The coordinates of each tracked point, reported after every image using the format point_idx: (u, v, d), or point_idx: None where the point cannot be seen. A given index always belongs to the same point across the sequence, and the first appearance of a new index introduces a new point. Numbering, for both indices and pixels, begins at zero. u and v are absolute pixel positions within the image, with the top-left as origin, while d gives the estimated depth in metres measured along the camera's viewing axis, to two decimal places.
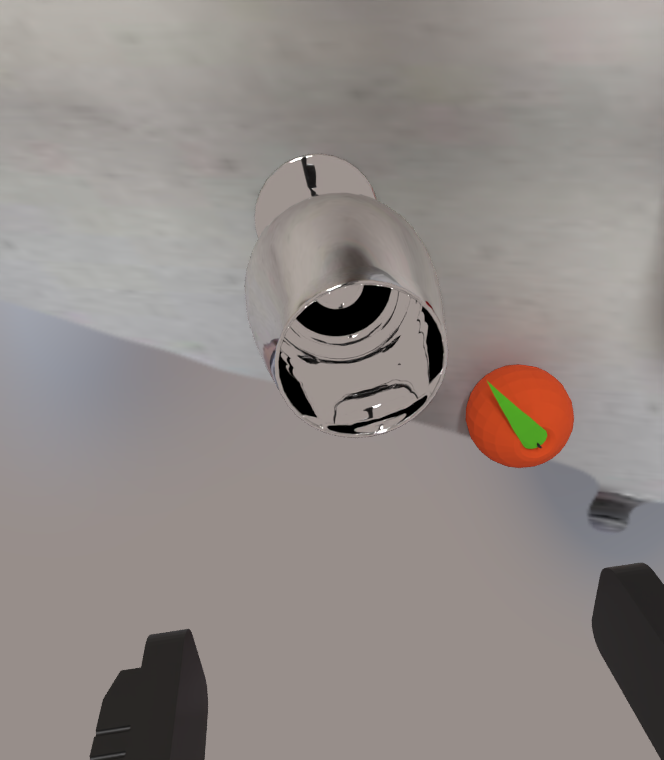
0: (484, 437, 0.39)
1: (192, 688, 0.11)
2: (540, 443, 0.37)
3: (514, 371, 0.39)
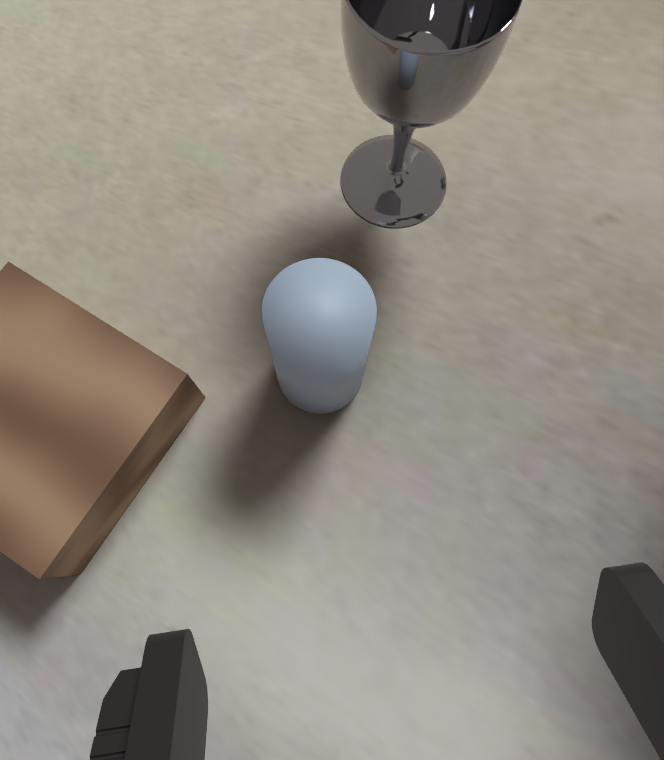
0: None
1: (191, 688, 0.11)
2: None
3: None
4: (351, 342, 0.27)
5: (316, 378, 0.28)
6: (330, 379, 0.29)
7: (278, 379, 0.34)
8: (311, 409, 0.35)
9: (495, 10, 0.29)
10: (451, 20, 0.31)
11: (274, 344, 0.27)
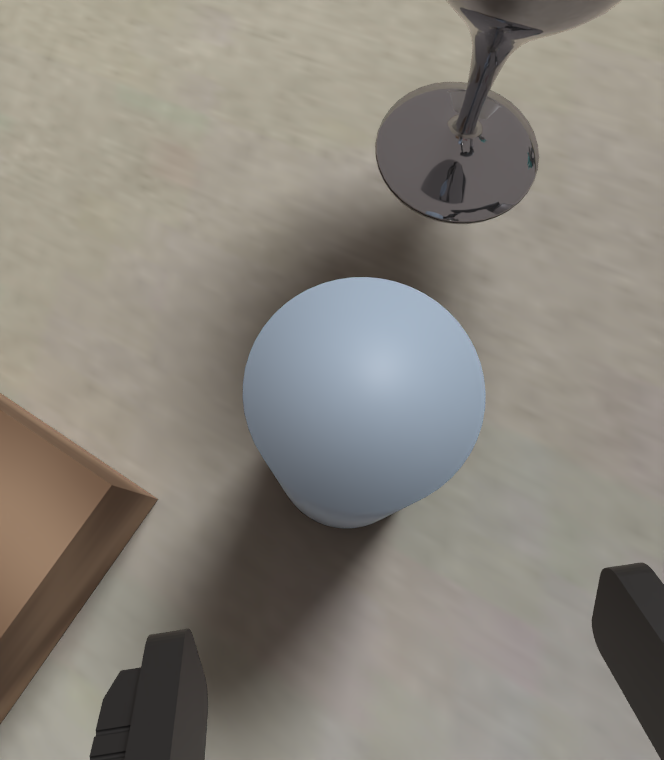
0: None
1: (192, 688, 0.11)
2: None
3: None
4: (434, 459, 0.12)
5: (353, 517, 0.14)
6: (380, 515, 0.15)
7: None
8: (333, 526, 0.21)
9: None
10: None
11: (269, 463, 0.12)
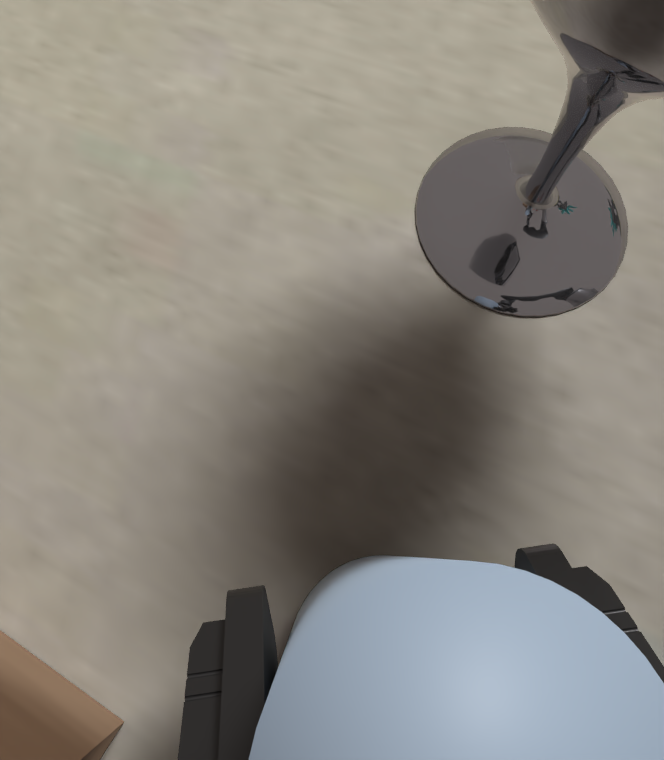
0: None
1: (269, 639, 0.11)
2: None
3: None
4: None
5: None
6: None
7: None
8: None
9: None
10: None
11: None
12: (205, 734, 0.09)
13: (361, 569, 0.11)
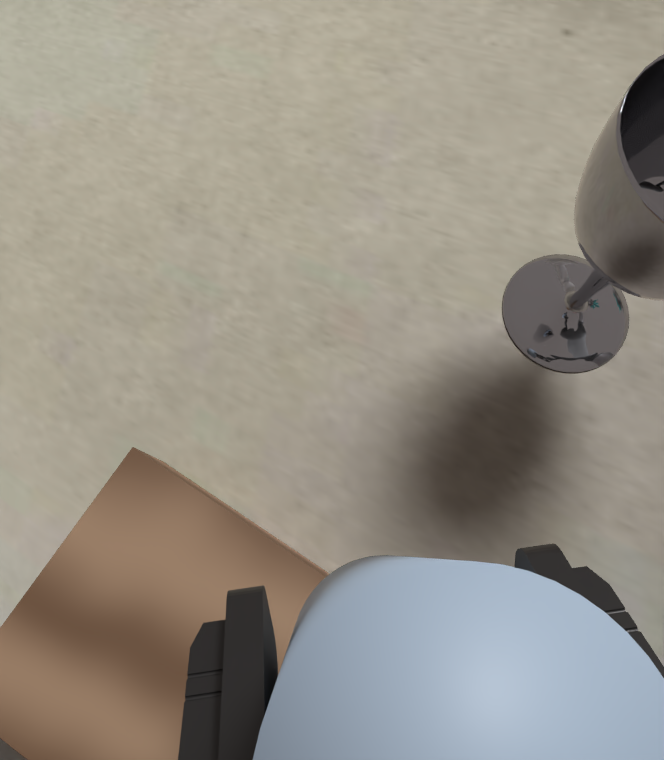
0: None
1: (269, 638, 0.11)
2: None
3: None
4: None
5: None
6: None
7: None
8: None
9: None
10: None
11: None
12: (205, 733, 0.09)
13: (363, 569, 0.11)
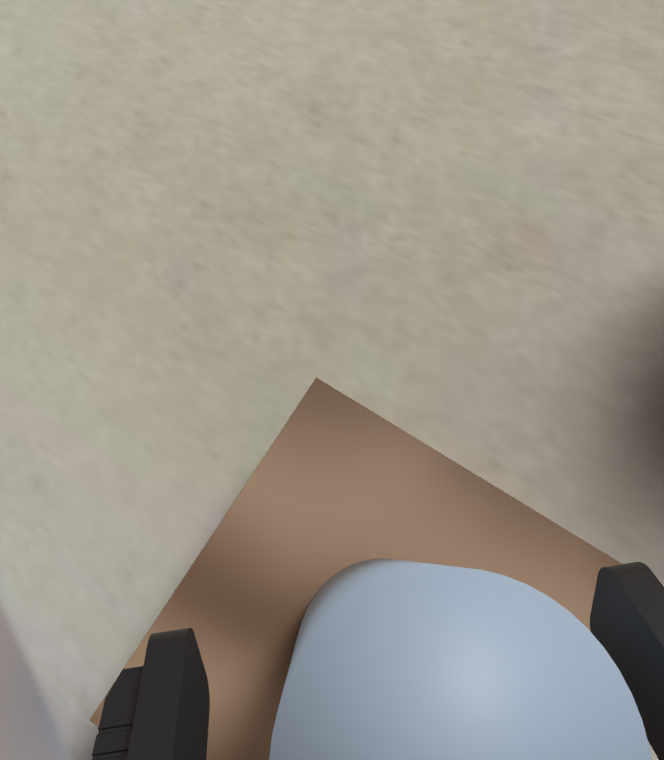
0: None
1: (193, 686, 0.11)
2: None
3: None
4: None
5: None
6: None
7: None
8: None
9: None
10: None
11: None
12: None
13: (364, 572, 0.12)
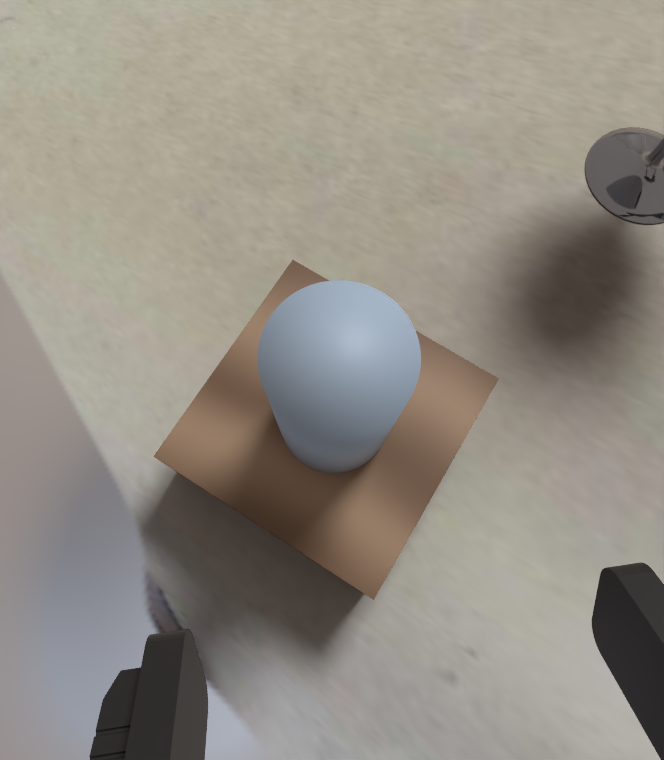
0: None
1: (191, 688, 0.11)
2: None
3: None
4: (385, 402, 0.19)
5: (333, 447, 0.20)
6: (352, 447, 0.21)
7: None
8: (323, 469, 0.27)
9: None
10: None
11: (275, 405, 0.19)
12: None
13: None
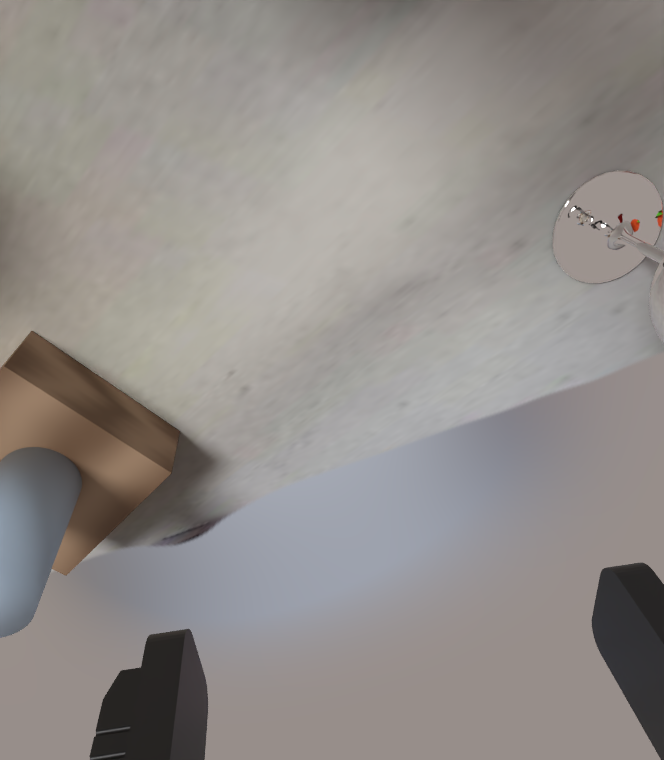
0: None
1: (192, 688, 0.11)
2: None
3: None
4: (13, 585, 0.30)
5: (47, 577, 0.33)
6: (48, 563, 0.33)
7: None
8: (76, 500, 0.39)
9: None
10: None
11: (14, 632, 0.31)
12: None
13: None
